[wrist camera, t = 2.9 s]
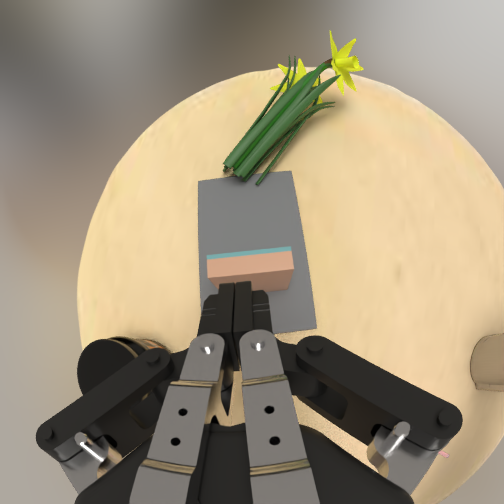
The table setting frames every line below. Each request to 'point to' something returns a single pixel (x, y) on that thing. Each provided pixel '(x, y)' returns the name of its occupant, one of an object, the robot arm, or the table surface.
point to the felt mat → (257, 237)
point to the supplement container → (109, 360)
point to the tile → (253, 268)
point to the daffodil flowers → (289, 110)
